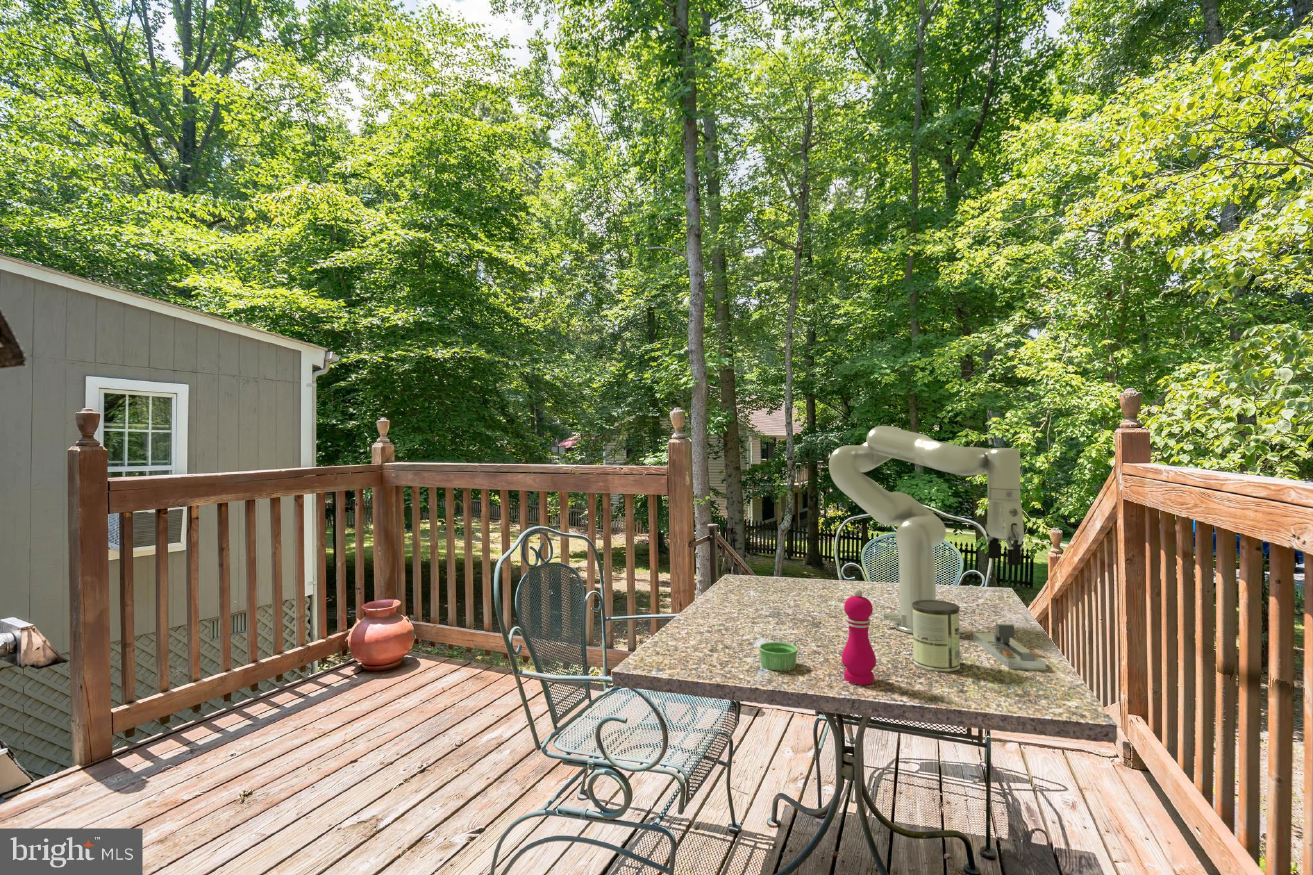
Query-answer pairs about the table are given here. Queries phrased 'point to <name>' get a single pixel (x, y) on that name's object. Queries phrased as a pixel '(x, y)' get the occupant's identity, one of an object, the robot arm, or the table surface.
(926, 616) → the coffee can
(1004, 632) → the fader tab
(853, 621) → the pepper mill
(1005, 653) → the console
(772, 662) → the ramekin
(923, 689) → the table surface
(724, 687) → the table surface
